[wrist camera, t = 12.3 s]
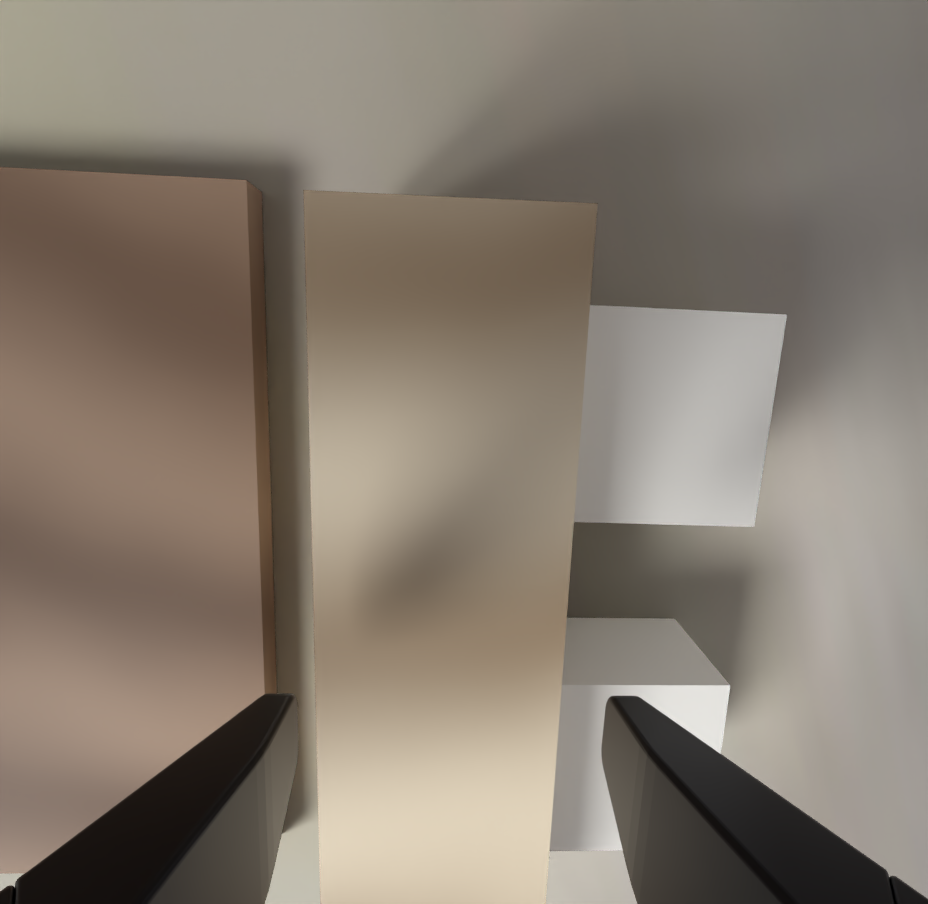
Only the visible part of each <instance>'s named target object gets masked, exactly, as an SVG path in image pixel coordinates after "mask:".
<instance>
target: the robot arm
mask: <svg viewBox="0 0 928 904" xmlns="http://www.w3.org/2000/svg"><path fill="white" fill-rule="evenodd" d="M601 756H602V765H603V770H604V774H605V778H606V782H607V786H608V791H609V795H610V799H611V803H612V807H613V811H614V816H615V820H616V824H617V828H618V832H619V837H620V841H621V845H622V849H623V853H624V858H625V862H626V866H627V870H628V874H629V877H630V881H631V885H632V888H633V891H634V894H635V898H636V901H637V904H928V899H927V898H926V897H924V896H923V895H921V894H920V893H919V892H917V891H916V890H914V889H913V888H911V887H910V886H909V885H907V884H906V883H904V882H903V881H902V880H900V879H899V878H897V877H896V876H890V877H889V875H888V872H887V871H886V870H885V869H884V868H883V867H881V866H880V865H878V864H877V863H876V862H874V861H873V860H871V859H870V858H868V857H867V856H866V855H864V854H863V853H861V852H860V851H858V850H857V849H856V848H854V847H853V846H851V845H850V844H848V843H847V842H846V841H844V840H843V839H841V838H840V837H838V836H837V835H836V834H834V833H833V832H831V831H830V830H828V829H827V828H826V827H824V826H823V825H821V824H820V823H818V822H817V821H816V820H814V819H813V818H811V817H810V816H809V815H807V814H806V813H804V812H803V811H801V810H800V809H799V808H797V807H796V806H794V805H793V804H791V803H790V802H789V801H787V800H786V799H784V798H783V797H781V796H780V795H779V794H777V793H776V792H774V791H773V790H771V789H770V788H769V787H767V786H766V785H764V784H763V783H761V782H760V781H759V780H757V779H756V778H754V777H753V776H751V775H750V774H749V773H747V772H746V771H744V770H743V769H741V768H740V767H739V766H737V765H736V764H734V763H733V762H731V761H730V760H729V759H727V758H726V757H724V756H723V755H722V754H720V753H719V752H717V751H716V750H714V749H713V748H712V747H710V746H709V745H707V744H706V743H704V742H703V741H702V740H700V739H699V738H697V737H696V736H694V735H693V734H692V733H690V732H689V731H687V730H686V729H684V728H683V727H682V726H680V725H679V724H677V723H676V722H674V721H673V720H672V719H670V718H669V717H667V716H666V715H664V714H663V713H662V712H660V711H659V710H657V709H656V708H654V707H653V706H652V705H650V704H649V703H647V702H646V701H645V700H643V699H642V698H640V697H638V696H611V697H609V698H608V700H607V703H606V707H605V717H604V727H603V736H602V747H601ZM297 758H298V711H297V699H296V697H295V695H293V694H278V693H267V694H264V695H262V696H261V697H259V698H258V699H257V700H255V701H254V702H253V703H251V704H250V705H249V706H247V707H246V708H245V709H243V710H242V711H241V712H239V713H238V714H237V715H235V716H234V717H233V718H231V719H230V720H229V721H227V722H226V723H225V724H223V725H222V726H221V727H219V728H218V729H217V730H215V731H214V732H213V733H211V734H210V735H209V736H207V737H206V738H205V739H203V740H202V741H201V742H199V743H198V744H197V745H195V746H194V747H193V748H191V749H190V750H189V751H187V752H186V753H185V754H183V755H182V756H181V757H179V758H178V759H177V760H175V761H174V762H173V763H171V764H170V765H169V766H167V767H166V768H165V769H163V770H162V771H161V772H159V773H158V774H157V775H155V776H154V777H153V778H151V779H150V780H149V781H147V782H146V783H145V784H143V785H142V786H141V787H139V788H138V789H137V790H135V791H134V792H133V793H131V794H130V795H129V796H127V797H126V798H125V799H123V800H122V801H121V802H119V803H118V804H117V805H115V806H114V807H113V808H111V809H110V810H109V811H107V812H106V813H105V814H103V815H102V816H101V817H99V818H98V819H97V820H95V821H94V822H93V823H91V824H90V825H89V826H87V827H86V828H85V829H83V830H82V831H81V832H79V833H78V834H77V835H75V836H74V837H73V838H71V839H70V840H69V841H67V842H66V843H65V844H63V845H62V846H61V847H59V848H58V849H57V850H55V851H54V852H53V853H51V854H50V855H49V856H47V857H46V858H45V859H43V860H42V861H41V862H39V863H38V864H37V865H35V866H34V867H33V868H31V869H30V870H29V871H27V872H26V873H25V874H23V875H22V876H21V877H19V878H18V879H17V881H16V883H15V888H14V886H7V887H6V888H4V889H3V890H2V891H0V904H265V900H266V897H267V894H268V891H269V887H270V882H271V878H272V874H273V870H274V866H275V862H276V857H277V852H278V848H279V843H280V839H281V834H282V830H283V825H284V820H285V816H286V811H287V807H288V802H289V798H290V793H291V789H292V784H293V779H294V775H295V770H296V765H297Z"/></svg>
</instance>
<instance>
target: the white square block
mask: <svg viewBox="0 0 928 904" xmlns="http://www.w3.org/2000/svg"><path fill="white" fill-rule="evenodd" d="M786 319H787V314H767V313H746V312H725V311H705V310H684V309H663V308H643V307H622V306H601V305H590V312H589V326H588V339H587V352H586V366H585V379H584V393H583V406H582V420H581V433H580V447H579V460H578V474H577V487H576V500H575V514H574V522H592V523H628V524H664V525H700V526H736V527H754V525H755V519H756V512H757V506H758V499H759V493H760V486H761V480H762V474H763V467H764V461H765V454H766V448H767V441H768V435H769V428H770V422H771V416H772V409H773V403H774V396H775V390H776V383H777V377H778V370H779V364H780V357H781V351H782V345H783V338H784V332H785V325H786Z"/></svg>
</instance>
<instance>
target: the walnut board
mask: <svg viewBox="0 0 928 904" xmlns="http://www.w3.org/2000/svg"><path fill="white" fill-rule="evenodd" d="M267 693H277V673H276V640H275V607H274V574H273V542H272V509H271V476H270V443H269V410H268V377H267V345H266V312H265V279H264V246H263V213H262V192H261V191H260V190H258V189H257V188H256V187H255V186H253V185H252V184H251V183H250V182H248V181H247V180H237V179H218V178H199V177H180V176H161V175H142V174H123V173H105V172H86V171H67V170H48V169H29V168H10V167H0V873H26V872H27V871H29V870H30V869H31V868H33V867H34V866H35V865H37V864H38V863H39V862H41V861H42V860H43V859H45V858H46V857H47V856H49V855H50V854H51V853H53V852H54V851H55V850H57V849H58V848H59V847H61V846H62V845H63V844H65V843H66V842H67V841H69V840H70V839H71V838H73V837H74V836H75V835H77V834H78V833H79V832H81V831H82V830H83V829H85V828H86V827H87V826H89V825H90V824H91V823H93V822H94V821H95V820H97V819H98V818H99V817H101V816H102V815H103V814H105V813H106V812H107V811H109V810H110V809H111V808H113V807H114V806H115V805H117V804H118V803H119V802H121V801H122V800H123V799H125V798H126V797H127V796H129V795H130V794H131V793H133V792H134V791H135V790H137V789H138V788H139V787H141V786H142V785H143V784H145V783H146V782H147V781H149V780H150V779H151V778H153V777H154V776H155V775H157V774H158V773H159V772H161V771H162V770H163V769H165V768H166V767H167V766H169V765H170V764H171V763H173V762H174V761H175V760H177V759H178V758H179V757H181V756H182V755H183V754H185V753H186V752H187V751H189V750H190V749H191V748H193V747H194V746H195V745H197V744H198V743H199V742H201V741H202V740H203V739H205V738H206V737H207V736H209V735H210V734H211V733H213V732H214V731H215V730H217V729H218V728H219V727H221V726H222V725H223V724H225V723H226V722H227V721H229V720H230V719H231V718H233V717H234V716H235V715H237V714H238V713H239V712H241V711H242V710H243V709H245V708H246V707H247V706H249V705H250V704H251V703H253V702H254V701H255V700H257V699H258V698H259V697H261V696H262V695H264V694H267Z"/></svg>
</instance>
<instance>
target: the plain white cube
mask: <svg viewBox="0 0 928 904" xmlns="http://www.w3.org/2000/svg"><path fill="white" fill-rule="evenodd" d="M729 692H730V684H729V683H728V682H727V681H726V680H725V678H724V677H723V676H722V675H721V674H720V672H719V671H718V670H717V669H716V668H715V666H714V665H713V664H712V663H711V662H710V660H709V659H708V658H707V657H706V656H705V654H704V653H703V652H702V651H701V650H700V648H699V647H698V646H697V645H696V644H695V642H694V641H693V640H692V639H691V638H690V636H689V635H688V634H687V633H686V632H685V630H684V629H683V628H682V627H681V626H680V624H679V623H678V622H677V621H676V620H675V619H658V618H567V622H566V635H565V649H564V662H563V675H562V689H561V702H560V716H559V729H558V743H557V756H556V770H555V783H554V797H553V810H552V823H551V837H550V850H549V851H607V850H623V849H622V845H621V841H620V837H619V832H618V828H617V824H616V820H615V816H614V811H613V807H612V803H611V799H610V795H609V791H608V786H607V782H606V778H605V774H604V770H603V765H602V756H601V747H602V736H603V727H604V717H605V707H606V703H607V700H608V698H609V697H611V696H638V697H640V698H642V699H643V700H645V701H646V702H647V703H649V704H650V705H652V706H653V707H654V708H656V709H657V710H659V711H660V712H662V713H663V714H664V715H666V716H667V717H669V718H670V719H672V720H673V721H674V722H676V723H677V724H679V725H680V726H682V727H683V728H684V729H686V730H687V731H689V732H690V733H692V734H693V735H694V736H696V737H697V738H699V739H700V740H702V741H703V742H704V743H706V744H707V745H709V746H710V747H712V748H713V749H714V750H716V751H717V752H719V753H720V754H721V749H722V741H723V734H724V727H725V720H726V713H727V706H728V699H729Z"/></svg>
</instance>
